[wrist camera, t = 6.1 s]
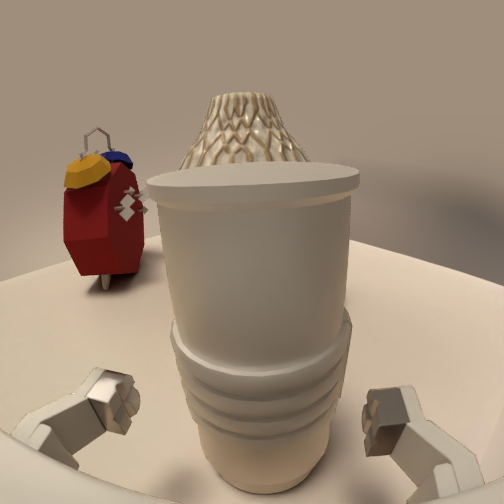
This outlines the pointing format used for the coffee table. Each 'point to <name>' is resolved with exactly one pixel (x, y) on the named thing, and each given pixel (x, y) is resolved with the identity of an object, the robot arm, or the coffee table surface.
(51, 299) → the coffee table surface
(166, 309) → the coffee table surface
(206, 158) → the vase
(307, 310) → the white travel cup
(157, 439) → the coffee table surface
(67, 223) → the alarm clock
